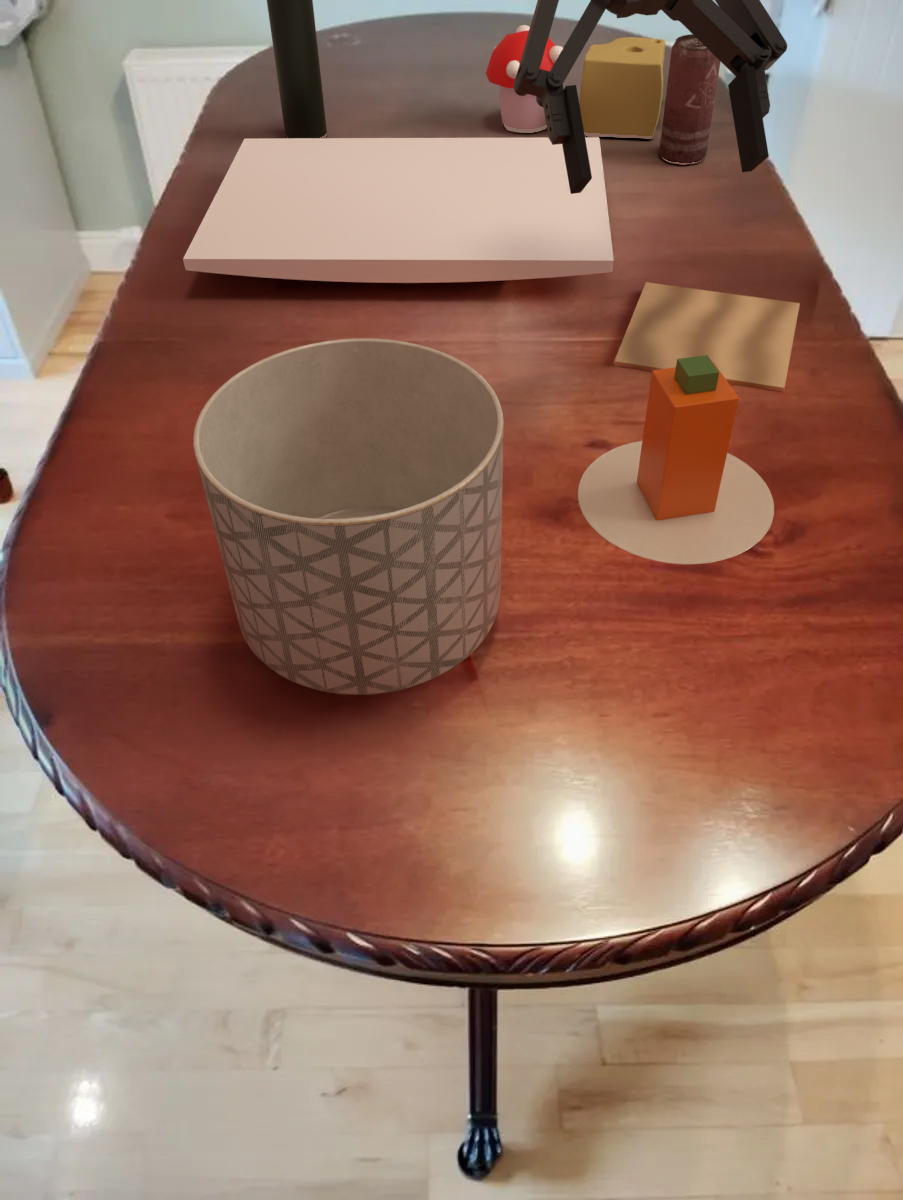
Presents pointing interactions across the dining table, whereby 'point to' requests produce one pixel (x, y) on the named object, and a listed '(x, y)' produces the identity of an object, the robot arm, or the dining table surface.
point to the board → (404, 212)
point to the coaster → (711, 334)
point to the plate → (680, 540)
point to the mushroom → (503, 72)
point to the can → (688, 101)
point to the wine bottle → (297, 67)
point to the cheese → (623, 86)
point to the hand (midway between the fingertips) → (669, 175)
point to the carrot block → (686, 438)
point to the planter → (357, 510)
